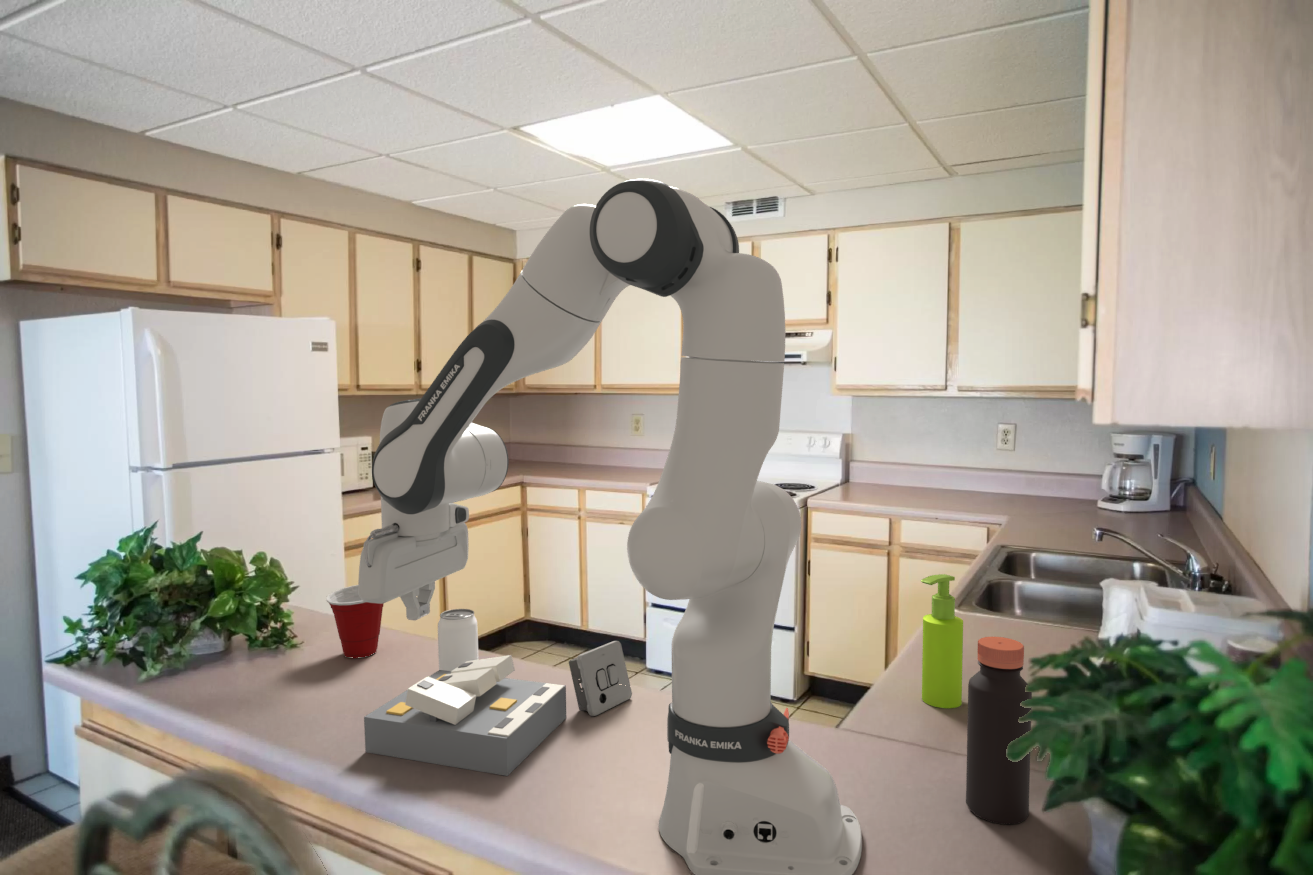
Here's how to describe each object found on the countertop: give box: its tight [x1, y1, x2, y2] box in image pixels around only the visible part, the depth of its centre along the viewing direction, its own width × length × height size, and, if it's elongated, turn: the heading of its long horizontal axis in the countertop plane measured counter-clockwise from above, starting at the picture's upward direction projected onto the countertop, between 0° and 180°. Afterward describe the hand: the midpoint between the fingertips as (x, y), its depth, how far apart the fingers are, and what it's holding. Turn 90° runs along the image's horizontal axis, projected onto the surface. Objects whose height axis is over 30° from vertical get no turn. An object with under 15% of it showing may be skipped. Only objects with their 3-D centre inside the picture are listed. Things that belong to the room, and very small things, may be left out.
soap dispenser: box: [920, 573, 964, 710], centre depth 121 cm, size 6×7×20 cm
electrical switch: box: [568, 640, 633, 717], centre depth 122 cm, size 9×5×9 cm, turn 141°
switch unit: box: [363, 669, 567, 777], centre depth 112 cm, size 22×18×6 cm
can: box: [437, 608, 479, 671], centre depth 130 cm, size 6×6×12 cm
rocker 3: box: [451, 654, 516, 682], centre depth 117 cm, size 8×4×2 cm, turn 72°
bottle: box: [965, 636, 1033, 825], centre depth 90 cm, size 7×7×20 cm
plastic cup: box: [325, 584, 385, 659], centre depth 145 cm, size 11×11×12 cm
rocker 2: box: [438, 668, 496, 697], centre depth 112 cm, size 8×4×3 cm, turn 72°
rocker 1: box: [405, 676, 476, 725], centre depth 106 cm, size 8×4×3 cm, turn 72°
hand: (418, 617), depth 107 cm, fingers closed
